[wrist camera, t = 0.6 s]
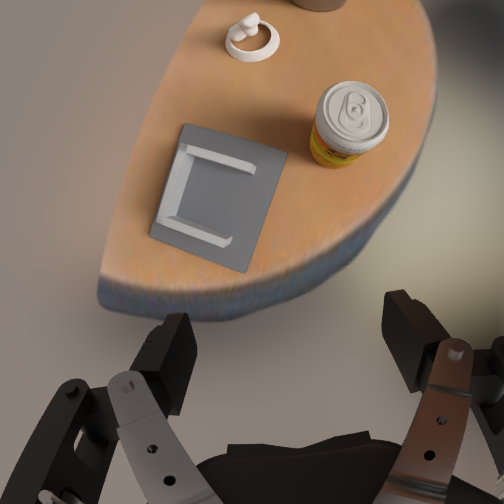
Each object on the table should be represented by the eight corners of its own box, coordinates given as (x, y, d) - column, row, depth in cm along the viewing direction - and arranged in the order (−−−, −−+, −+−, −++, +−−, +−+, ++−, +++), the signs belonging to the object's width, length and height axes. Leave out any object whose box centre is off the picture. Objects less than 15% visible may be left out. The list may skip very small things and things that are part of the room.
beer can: (305, 163, 35) (312, 137, 20) (313, 119, 34) (323, 69, 19) (352, 174, 34) (388, 156, 20) (359, 130, 33) (395, 88, 19)
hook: (263, 80, 29) (216, 43, 25) (248, 69, 38) (213, 42, 34) (307, 39, 26) (263, -1, 22) (282, 37, 35) (248, 9, 31)
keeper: (188, 125, 36) (174, 116, 32) (288, 154, 35) (287, 147, 31) (153, 235, 39) (136, 239, 35) (246, 272, 38) (239, 281, 34)
